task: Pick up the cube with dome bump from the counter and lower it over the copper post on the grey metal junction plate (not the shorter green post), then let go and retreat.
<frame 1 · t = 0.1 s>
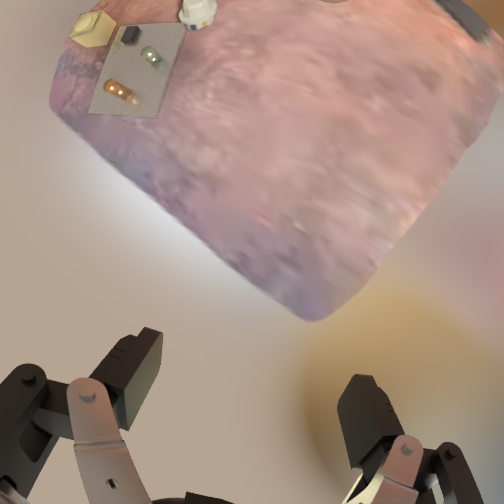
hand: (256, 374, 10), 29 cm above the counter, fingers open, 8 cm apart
junction plate: (137, 67, 32), on the counter
cube with dome bump: (101, 35, 30), on the counter
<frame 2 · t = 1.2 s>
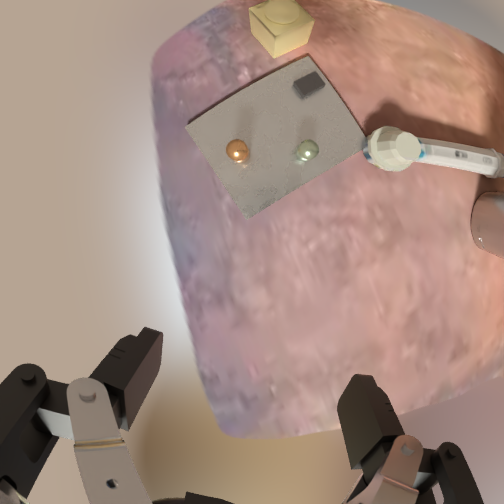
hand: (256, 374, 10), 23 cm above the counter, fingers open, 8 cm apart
junction plate: (278, 132, 29), on the counter
white handheld device: (439, 156, 29), on the counter, touching junction plate
cube with dome bump: (279, 37, 26), on the counter
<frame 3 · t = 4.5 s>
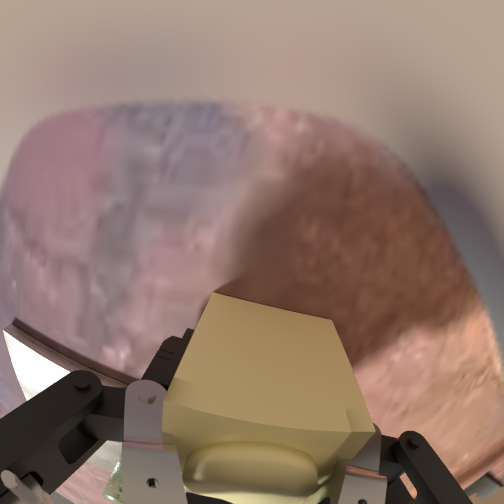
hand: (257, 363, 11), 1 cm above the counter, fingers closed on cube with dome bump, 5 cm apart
junction plate: (116, 435, 14), on the counter
cube with dome bump: (258, 355, 11), on the counter, touching gripper
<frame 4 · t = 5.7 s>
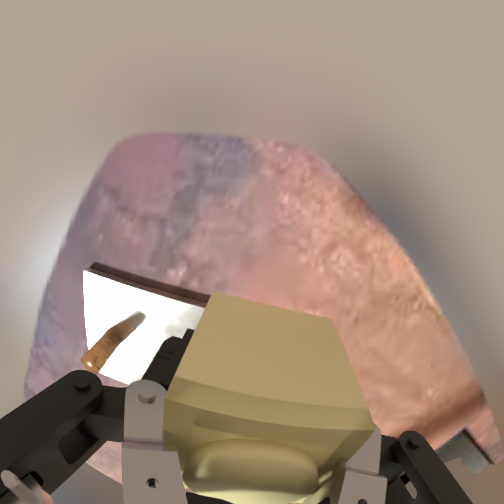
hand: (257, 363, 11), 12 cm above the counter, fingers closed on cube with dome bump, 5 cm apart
junction plate: (160, 347, 25), on the counter
cube with dome bump: (258, 354, 11), point 11 cm above the counter, touching gripper
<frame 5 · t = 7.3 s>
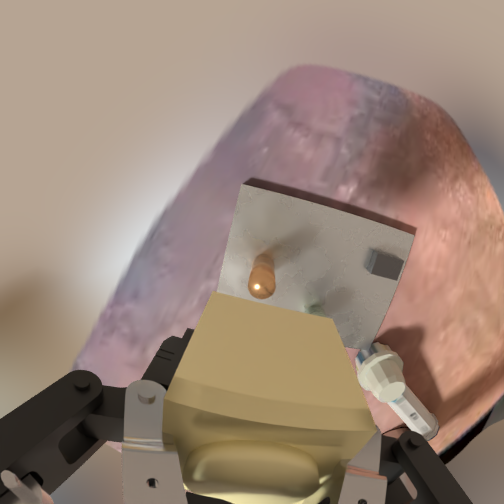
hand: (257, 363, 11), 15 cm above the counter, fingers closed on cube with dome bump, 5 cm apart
junction plate: (314, 275, 25), on the counter
white handheld device: (401, 392, 30), on the counter, touching arm, junction plate
cube with dome bump: (258, 354, 11), point 14 cm above the counter, touching gripper
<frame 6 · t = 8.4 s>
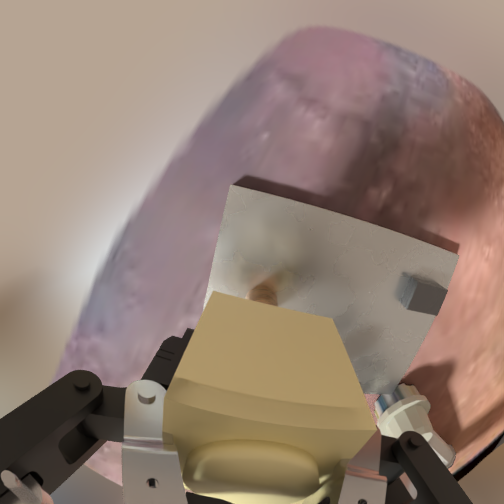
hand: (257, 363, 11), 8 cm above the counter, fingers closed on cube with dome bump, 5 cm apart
junction plate: (331, 309, 18), on the counter
white handheld device: (420, 428, 23), on the counter, touching junction plate
cube with dome bump: (258, 354, 11), point 7 cm above the counter, touching gripper
when the fingers open (2 cm above the counter, at t = 9.9 s): cube with dome bump stays where it is, resting on junction plate.
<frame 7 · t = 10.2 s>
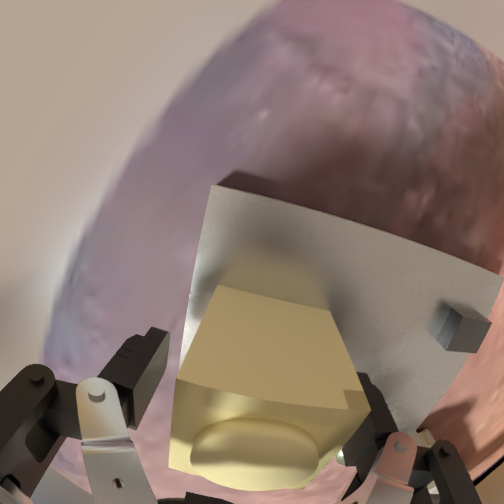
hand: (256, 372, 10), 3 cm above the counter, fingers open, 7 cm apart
junction plate: (349, 351, 13), on the counter
white handheld device: (433, 459, 18), on the counter
cube with dome bump: (260, 345, 12), point 1 cm above the counter, touching junction plate
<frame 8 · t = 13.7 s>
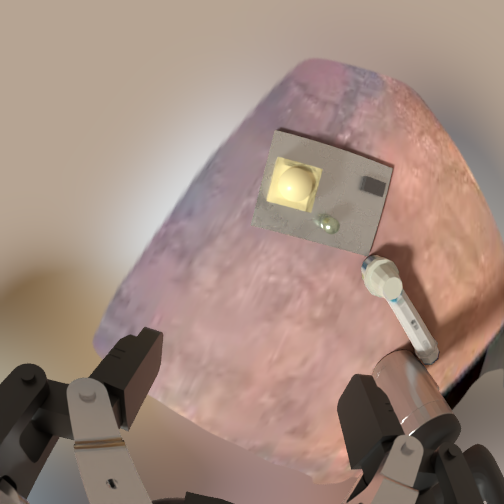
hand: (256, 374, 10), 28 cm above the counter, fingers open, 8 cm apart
junction plate: (324, 194, 35), on the counter
white handheld device: (401, 310, 40), on the counter
cube with dome bump: (290, 184, 34), point 1 cm above the counter, touching junction plate
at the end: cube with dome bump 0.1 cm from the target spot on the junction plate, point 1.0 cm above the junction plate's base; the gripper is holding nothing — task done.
